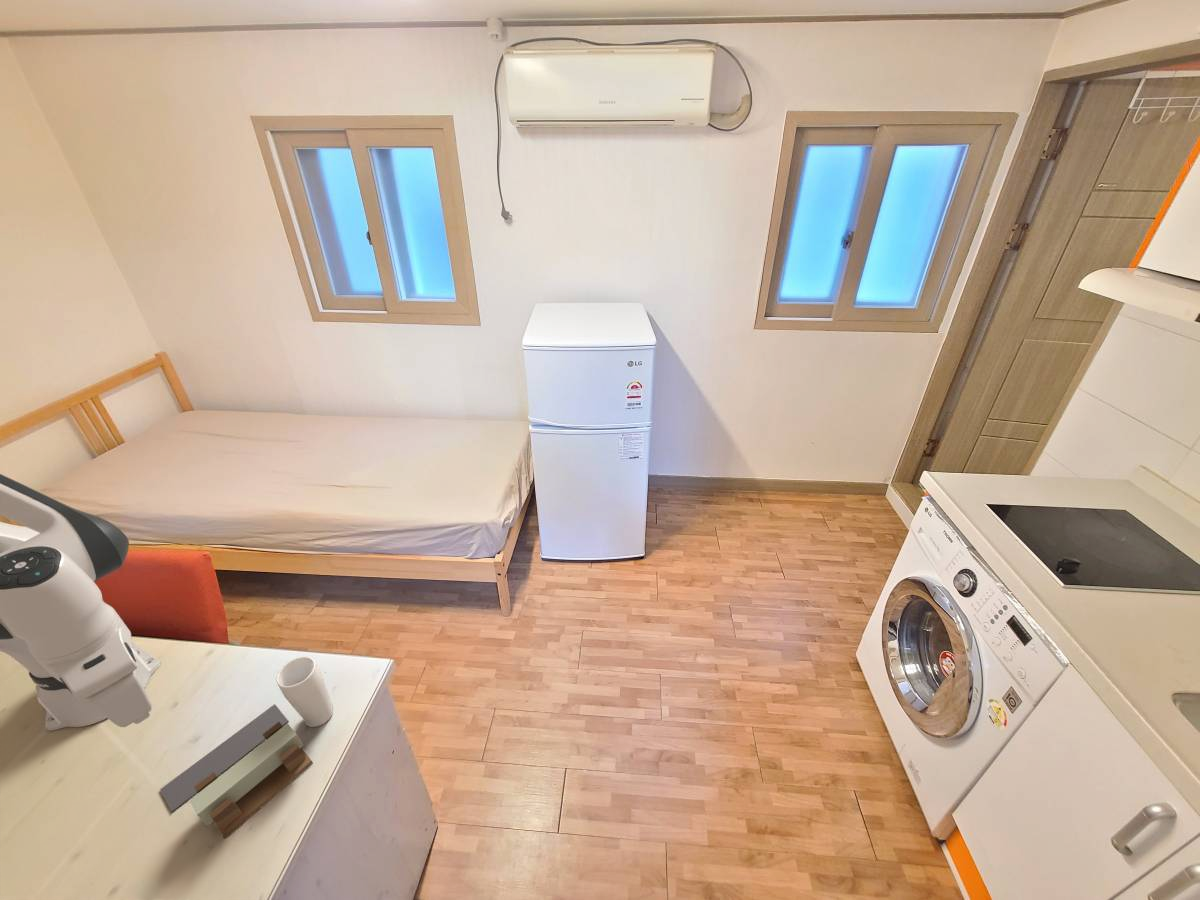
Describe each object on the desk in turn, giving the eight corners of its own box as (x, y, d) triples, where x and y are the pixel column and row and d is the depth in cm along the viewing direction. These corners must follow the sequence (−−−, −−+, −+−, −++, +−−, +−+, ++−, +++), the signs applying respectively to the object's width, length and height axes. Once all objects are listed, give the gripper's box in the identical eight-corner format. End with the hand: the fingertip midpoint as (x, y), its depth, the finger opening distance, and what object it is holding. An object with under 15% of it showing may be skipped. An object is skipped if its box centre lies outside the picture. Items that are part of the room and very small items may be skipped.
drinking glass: (332, 693, 104) (310, 649, 97) (342, 716, 100) (320, 672, 92) (298, 714, 101) (272, 669, 93) (306, 739, 96) (280, 695, 88)
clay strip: (207, 825, 81) (197, 814, 79) (199, 811, 83) (189, 800, 81) (303, 745, 92) (296, 734, 90) (294, 734, 94) (287, 723, 92)
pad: (160, 790, 89) (160, 789, 89) (275, 704, 102) (274, 703, 102) (172, 812, 86) (171, 811, 86) (288, 721, 99) (288, 720, 99)
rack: (207, 807, 86) (190, 789, 83) (293, 737, 97) (281, 719, 93) (225, 838, 82) (208, 821, 79) (312, 762, 93) (301, 744, 89)
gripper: (36, 621, 72) (85, 677, 79) (76, 702, 62) (127, 757, 70) (92, 595, 76) (133, 650, 84) (138, 667, 67) (180, 722, 74)
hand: (131, 699), depth 77 cm, fingers open, 8 cm apart
